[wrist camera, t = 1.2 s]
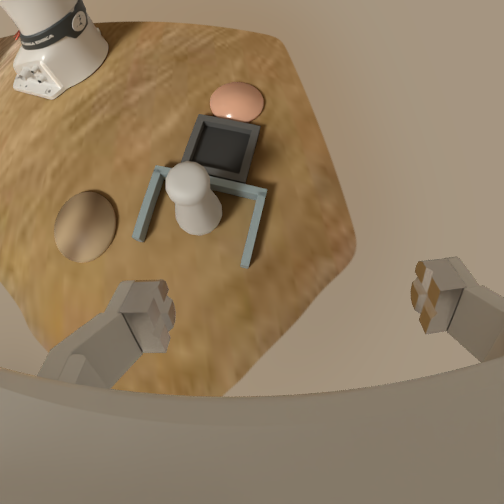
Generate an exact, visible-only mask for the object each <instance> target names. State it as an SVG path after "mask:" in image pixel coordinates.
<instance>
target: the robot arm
mask: <svg viewBox="0 0 504 504" xmlns="http://www.w3.org/2000/svg"><path fill="white" fill-rule="evenodd" d="M0 6H1V7H2V8H3V9H4V10H5V11H6V13H7V14H8V15H9V16H10V18H11V19H12V20H13V22H14V23H15V25H16V26H17V27H18V29H19V31H18V32H17V33H16V34H15V36H16V35H17V34H18V33H19V34H18V35H17V37H16V39H15V40H17V39H18V38H19V36H20V39H21V43H22V45H21V47H20V49H19V51H18V53H17V55H16V57H15V60H14V63H13V67H14V70H15V71H16V73H17V75H16V78H15V80H14V84H13V88H14V89H15V90H17V91H21V92H25V93H28V94H32V95H36V96H40V97H44V98H47V99H51V100H52V99H55V98H56V97H58V96H59V95H60V94H61V93H63V92H64V91H65V90H66V89H68V88H70V87H71V86H74V85H76V84H77V83H79V82H81V81H83V80H84V79H86V78H87V77H88V76H90V75H91V74H92V73H93V72H94V71H95V70H96V69H97V68H98V67H99V66H100V65H101V64H102V62H103V61H104V59H105V58H106V56H107V53H108V43H107V42H106V40H105V39H104V38H103V37H102V36H101V31H100V30H99V28H96V27H95V25H94V24H93V22H92V20H91V19H90V17H89V16H88V14H87V13H86V8H85V6H84V4H83V0H0ZM15 36H14V37H15ZM415 273H416V275H417V276H418V277H417V278H416V279H415V280H414V281H413V282H412V287H411V301H412V305H413V307H414V309H415V311H417V312H418V313H420V314H421V315H420V318H419V321H420V323H421V325H422V327H423V330H424V332H425V334H431V333H437V332H444V331H447V333H449V334H450V335H451V336H452V337H453V338H454V339H456V340H457V341H458V342H459V343H460V344H461V345H462V346H463V347H464V348H466V349H467V350H468V351H469V352H470V353H471V354H472V355H473V356H475V358H477V359H478V360H479V361H480V362H481V363H479V364H476V365H472V366H468V367H464V368H460V369H456V370H452V371H448V372H444V373H440V374H436V375H431V376H427V377H422V378H417V379H412V380H407V381H402V382H396V383H391V384H384V385H378V386H371V387H365V388H358V389H350V390H341V391H333V392H322V393H311V394H297V395H282V396H253V397H209V396H182V395H165V394H152V393H141V392H131V391H122V390H114V389H110V388H111V387H112V386H113V385H114V384H115V383H116V382H117V381H118V380H119V379H120V378H121V377H122V376H123V375H124V373H125V372H126V371H127V370H128V369H129V368H130V367H131V366H132V365H133V364H134V363H135V362H136V361H137V360H138V358H139V357H140V356H141V355H142V354H143V353H166V351H167V347H168V344H169V341H170V335H169V333H168V332H169V331H170V330H171V329H172V328H173V327H174V323H175V306H174V303H173V300H172V299H171V298H170V297H168V296H167V293H168V290H169V289H168V286H167V284H166V281H164V280H136V281H135V280H131V281H122V282H120V284H119V286H118V287H117V289H116V291H115V293H114V295H113V297H112V299H111V300H110V302H109V304H108V306H107V308H106V310H105V312H104V313H99V314H98V315H97V316H95V317H94V318H93V319H91V320H90V321H89V322H87V323H86V324H84V325H83V326H82V327H80V328H79V329H78V330H76V331H75V332H74V333H72V334H71V335H70V336H68V337H67V338H66V339H64V340H63V341H62V342H60V343H59V344H58V345H56V346H55V347H54V348H52V349H51V350H50V352H49V354H48V355H47V357H46V359H45V361H44V363H43V365H42V367H41V369H40V371H39V373H38V375H37V376H34V375H30V374H25V373H21V372H17V371H13V370H10V369H6V368H2V367H0V504H504V297H502V296H501V295H499V294H497V293H496V292H494V291H492V290H490V289H489V288H487V287H485V286H483V285H482V286H480V285H479V284H478V283H477V281H476V280H475V278H474V277H473V276H472V274H471V273H470V271H469V270H468V269H467V267H466V266H465V265H464V263H463V262H462V261H461V259H460V258H458V257H449V258H444V259H436V260H426V261H419V262H418V263H417V265H416V269H415Z"/></svg>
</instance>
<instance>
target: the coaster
mask: <svg viewBox="0 0 504 504" xmlns="http://www.w3.org/2000/svg"><path fill="white" fill-rule="evenodd" d="M263 102H264V101H263V97H262V95H261V93H260V92H259V91H258V90H257V89H256V88H255V87H253V86H252V85H249V84H247V83H242V82H232V83H227V84H224V85H222V86H220V87H219V88H218V89H216V90H215V91H214V93H213V94H212V96H211V99H210V107H211V111H212V113H213V114H214V116H215V117H218V118H224V119H229V120H234V121H239V122H244V123H249V122H251V121H253V120H254V119H256V118H257V117H258V116H259V115H260V113H261V112H262V109H263Z"/></svg>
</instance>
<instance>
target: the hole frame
mask: <svg viewBox="0 0 504 504" xmlns="http://www.w3.org/2000/svg"><path fill="white" fill-rule="evenodd" d="M259 132H260V126H257V125H253V124H248V123H244V122H239V121H234V120H229V119H224V118H218V117H213V116H207V115H201V114H199V115H198V118H197V120H196V123H195V125H194V128H193V131H192V133H191V136H190V139H189V141H188V144H187V147H186V149H185V152H184V155H183V158H182V161H181V163H182V162H185V161H191V162H197V163H198V164H200V165H201V166H203V167H204V168H205V169H206V171H207V173H208V175H209V176H212V177H216V178H221V179H225V180H230V181H234V182H238V183H243V184H245V183H246V180H247V176H248V172H249V169H250V165H251V161H252V158H253V154H254V150H255V147H256V143H257V139H258V136H259Z"/></svg>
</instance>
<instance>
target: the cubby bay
mask: <svg viewBox="0 0 504 504" xmlns="http://www.w3.org/2000/svg"><path fill="white" fill-rule="evenodd" d="M170 169H172V168H168V167H162V166H157V165H156V166H155V169H154V172H153V174H152V177H151V180H150V183H149V186H148V189H147V192H146V194H145V197H144V200H143V203H142V206H141V209H140V213H139V216H138V219H137V222H136V225H135V228H134V232H133V235H132V238H134V239H135V240H137V241H140V242H144V240H145V237H146V233H147V230H148V227H149V223H150V220H151V217H152V214H153V211H154V207H155V204H156V201H157V198H158V195H159V192H160V189H161V186H162V183H163V180H166V177H167V175H168V173H169V171H170ZM210 189H211V190H214V191H219V192H223V193H227V194H232V195H236V196H240V197H244V198H249V199H253V200H256V204H255V208H254V212H253V216H252V220H251V224H250V228H249V232H248V236H247V240H246V244H245V248H244V252H243V256H242V260H241V265H240V267H243V268H248V267H249V263H250V259H251V255H252V251H253V247H254V243H255V238H256V234H257V230H258V226H259V222H260V218H261V214H262V210H263V205H264V201H265V197H266V193H267V189H264V188H260V187H255V186H251V185H247V184H243V183H238V182H234V181H230V180H225V179H221V178H216V177H212V176H210Z"/></svg>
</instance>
